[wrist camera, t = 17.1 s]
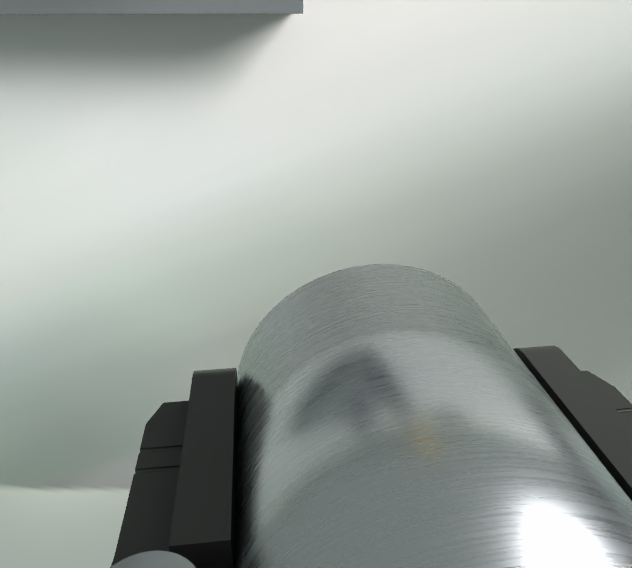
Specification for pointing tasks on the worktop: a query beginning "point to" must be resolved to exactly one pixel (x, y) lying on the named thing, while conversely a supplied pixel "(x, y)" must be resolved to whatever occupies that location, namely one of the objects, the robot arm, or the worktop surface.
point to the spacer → (409, 439)
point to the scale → (151, 6)
